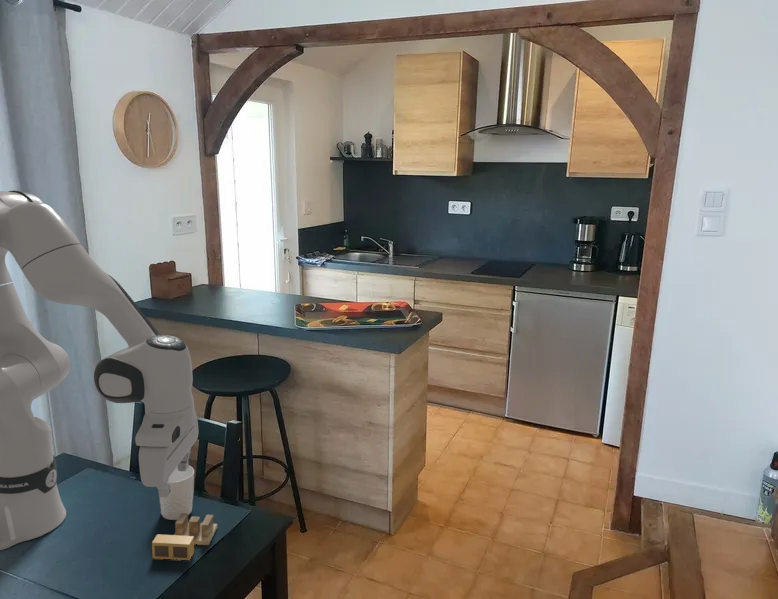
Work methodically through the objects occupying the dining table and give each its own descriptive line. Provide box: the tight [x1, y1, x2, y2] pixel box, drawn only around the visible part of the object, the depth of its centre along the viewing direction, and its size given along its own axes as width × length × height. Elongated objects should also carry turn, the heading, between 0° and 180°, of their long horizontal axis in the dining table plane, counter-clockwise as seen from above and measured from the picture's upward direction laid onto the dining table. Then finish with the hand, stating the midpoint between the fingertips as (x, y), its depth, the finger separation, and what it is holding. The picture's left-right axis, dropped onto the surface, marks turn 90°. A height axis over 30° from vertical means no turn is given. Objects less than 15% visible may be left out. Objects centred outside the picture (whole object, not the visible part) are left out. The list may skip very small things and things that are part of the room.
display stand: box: [173, 513, 218, 546], centre depth 119 cm, size 8×6×4 cm
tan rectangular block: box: [151, 533, 195, 562], centre depth 113 cm, size 8×3×4 cm, turn 90°
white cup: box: [158, 465, 195, 521], centre depth 127 cm, size 8×8×10 cm
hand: (174, 481), depth 110 cm, fingers open, 8 cm apart
